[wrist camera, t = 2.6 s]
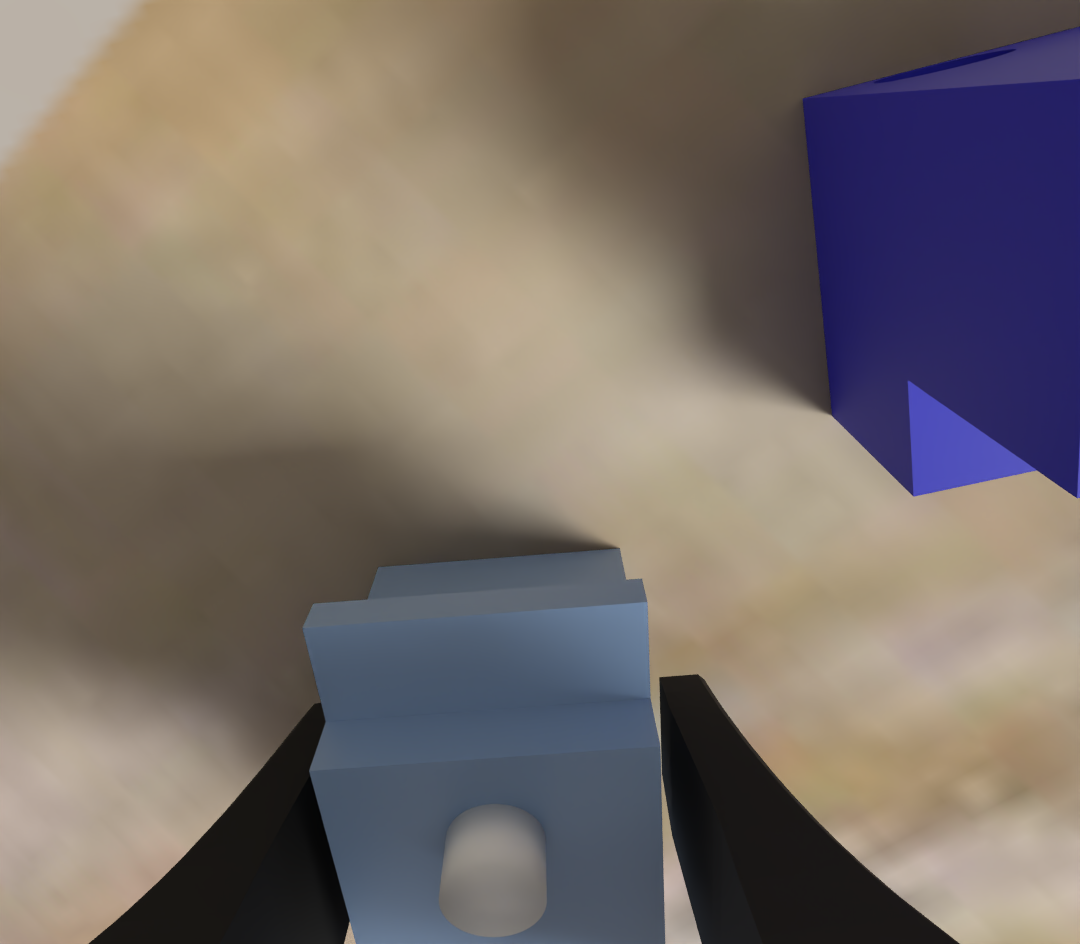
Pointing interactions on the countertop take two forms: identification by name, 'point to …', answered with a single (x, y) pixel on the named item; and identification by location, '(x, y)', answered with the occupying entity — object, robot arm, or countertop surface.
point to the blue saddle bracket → (955, 263)
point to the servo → (492, 753)
